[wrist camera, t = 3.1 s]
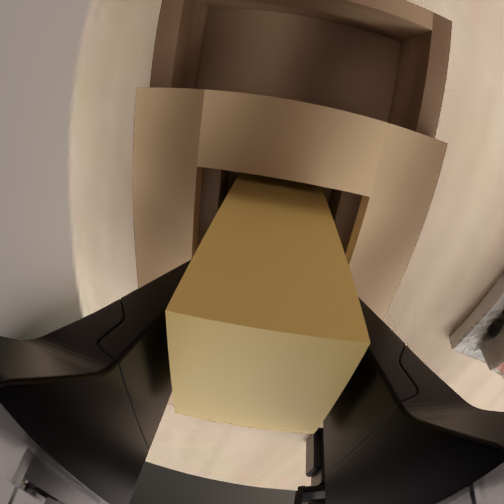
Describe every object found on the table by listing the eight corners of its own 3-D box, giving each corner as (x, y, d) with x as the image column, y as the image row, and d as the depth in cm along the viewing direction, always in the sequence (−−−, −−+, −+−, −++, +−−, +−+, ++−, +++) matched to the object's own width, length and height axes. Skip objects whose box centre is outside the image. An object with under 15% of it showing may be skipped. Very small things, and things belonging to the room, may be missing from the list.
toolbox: (411, 36, 10) (452, 21, 6) (330, 336, 19) (335, 386, 15) (198, -3, 10) (168, -31, 6) (176, 311, 19) (155, 356, 15)
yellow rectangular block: (320, 184, 13) (370, 342, 5) (304, 254, 14) (313, 434, 6) (240, 170, 13) (165, 310, 5) (232, 241, 15) (175, 412, 7)
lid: (437, 139, 8) (480, 157, 6) (337, 387, 15) (340, 430, 12) (147, 87, 9) (103, 89, 6) (154, 357, 15) (137, 397, 13)
